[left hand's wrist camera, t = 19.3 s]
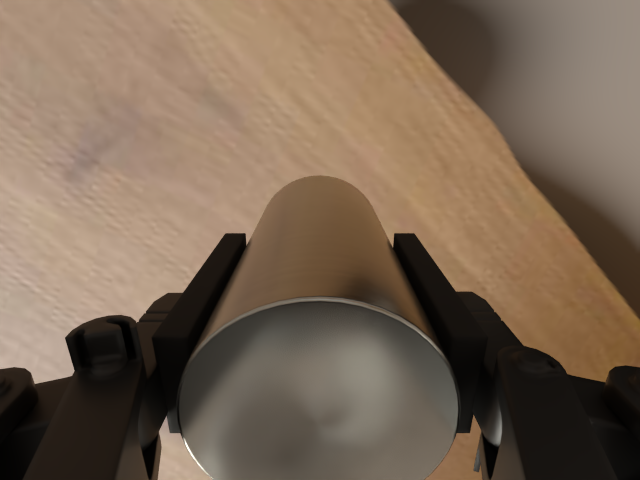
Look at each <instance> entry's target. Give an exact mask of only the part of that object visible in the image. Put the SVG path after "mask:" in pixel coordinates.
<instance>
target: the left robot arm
mask: <svg viewBox="0 0 640 480" xmlns="http://www.w3.org/2000/svg"><path fill="white" fill-rule="evenodd" d="M245 248H246V234H245V233H226V234H225V235H224V236H223V238H222V239H221V241H220V242H219V243H218V245H217V246H216V248H215V249H214V250H213V252H212V253H211V255H210V256H209V257H208V259H207V260H206V262H205V263H204V264H203V266H202V267H201V269H200V270H199V271H198V273H197V274H196V276H195V277H194V278H193V280H192V281H191V283H190V284H189V285H188V287H187V288H186V290H185V291H184V292H183V293H167V294H166V295H164V296H162V297H161V298H159V299H158V300H156V301H154V303H153V304H152V305H151V306H150V307H149V309H148V310H147V311H146V314H144V315H143V316H142V317H141V318H140V319H139V322H137V323H136V321H135V320H134V319H132V318H131V317H128V316H123V315H112V316H105V317H101V318H96V319H93V320H91V321H88V322H86V323H83V324H82V325H80V326H78V327H77V328H75V329H73V330H72V331H71V332H70V333H69V334H68V335H67V336H66V337H65V339H66V343H67V346H68V350H69V353H70V356H71V360H72V363H73V367H74V370H75V371H74V373H73V376H70V377H67V378H62V379H57V380H53V381H48V382H43V383H38V384H34V381H33V378H32V375H31V373H30V372H29V371H28V370H26V369H25V368H16V367H13V368H6V369H0V480H158V471H159V463H160V455H161V440H160V435H159V430H160V428H161V426H162V424H163V422H164V420H165V418H166V416H167V420H168V425H169V430H170V433H180V429H179V425H178V421H177V408H176V401H177V390H178V386H179V382H180V379H181V375H182V373H183V371H184V369H185V366H186V364H187V362H188V360H189V358H190V356H191V354H192V352H193V350H194V348H195V346H196V344H197V342H198V340H199V338H200V336H201V334H202V333H203V331H204V329H205V327H206V325H207V323H208V321H209V319H210V317H211V315H212V313H213V311H214V309H215V307H216V305H217V303H218V301H219V299H220V297H221V295H222V293H223V291H224V289H225V287H226V285H227V283H228V281H229V279H230V278H231V276H232V274H233V272H234V270H235V268H236V266H237V264H238V262H239V260H240V258H241V256H242V254H243V252H244V250H245ZM393 249H394V251H395V253H396V255H397V257H398V259H399V261H400V263H401V265H402V267H403V269H404V271H405V273H406V275H407V277H408V279H409V282H410V284H411V286H412V288H413V290H414V292H415V294H416V296H417V298H418V300H419V302H420V304H421V306H422V308H423V310H424V312H425V314H426V316H427V318H428V320H429V322H430V324H431V326H432V328H433V330H434V332H435V334H436V336H437V338H438V340H439V342H440V344H441V346H442V348H443V350H444V352H445V354H446V356H447V358H448V360H449V362H450V364H451V366H452V369H453V371H454V373H455V376H456V378H457V382H458V387H459V391H460V402H461V411H460V420H459V426H458V429H457V433H470V429H471V424H472V419H473V414H474V416H475V418H476V420H477V422H478V424H479V426H480V428H481V435H480V440H479V445H478V449H477V454H476V459H475V464H474V471H476V472H479V468H480V464H481V471H482V479H483V480H640V368H639V367H632V366H618V367H614V368H613V369H612V370H610V371H609V374H608V377H607V380H606V383H605V382H600V381H595V380H591V379H586V378H581V377H576V376H572V375H568V374H567V373H566V371H565V369H564V368H563V367H562V365H561V364H560V363H559V362H558V361H557V360H555V359H554V358H552V357H551V356H550V355H548V354H546V353H544V352H541V351H539V350H537V349H533V348H530V347H526V346H523V345H522V343H521V342H520V341H519V340H518V339H517V337H516V336H515V335H514V334H513V333H512V331H511V330H510V329H509V328H508V327H507V325H506V324H505V323H504V322H503V321H501V318H500V317H499V316H498V315H497V313H496V312H494V310H493V308H492V307H491V306H490V305H489V304H488V302H487V301H486V300H484V299H483V298H481V297H480V296H478V295H476V294H475V293H473V292H456V291H455V290H454V289H453V287H452V286H451V284H450V283H449V282H448V280H447V279H446V277H445V276H444V275H443V273H442V272H441V270H440V269H439V267H438V266H437V265H436V263H435V262H434V260H433V259H432V258H431V256H430V255H429V253H428V252H427V251H426V249H425V248H424V246H423V245H422V244H421V242H420V241H419V239H418V238H417V237H416V235H415V234H414V233H394V245H393Z"/></svg>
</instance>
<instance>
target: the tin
mask: <svg viewBox="0 0 640 480" xmlns="http://www.w3.org/2000/svg"><path fill="white" fill-rule="evenodd" d="M176 408H177V421H178V425H179V429H180V433H181V436H182V438H183V441H184V443H185V445H186V447H187V449H188V451H189V452H190V454H191V456H192V457H193V459H194V460H195V461H196V463H197V464H198V465H199V466H200V468H201V469H202V470H203V471H204V472H205V473H206V474H207V475H208V476H209V477H210V478H211V479H212V480H425V479H426V478H427V477H428V476H429V475H430V474H431V473H432V472H433V471H434V470H435V469H436V468H437V467H438V465H439V464H440V463H441V462H442V460H443V459H444V457H445V456H446V454H447V453H448V451H449V450H450V447H451V445H452V443H453V441H454V439H455V436H456V433H457V429H458V426H459V420H460V411H461V402H460V391H459V387H458V382H457V378H456V376H455V373H454V371H453V369H452V366H451V364H450V362H449V360H448V358H447V356H446V354H445V352H444V350H443V348H442V346H441V344H440V342H439V340H438V338H437V336H436V334H435V332H434V330H433V328H432V326H431V324H430V322H429V320H428V318H427V316H426V314H425V312H424V310H423V308H422V306H421V304H420V302H419V300H418V298H417V296H416V294H415V292H414V290H413V288H412V286H411V284H410V282H409V279H408V277H407V275H406V273H405V271H404V269H403V267H402V265H401V263H400V261H399V259H398V257H397V255H396V253H395V251H394V249H393V247H392V245H391V243H390V241H389V239H388V237H387V235H386V233H385V231H384V229H383V227H382V225H381V223H380V221H379V219H378V217H377V215H376V213H375V211H374V209H373V207H372V205H371V204H370V202H369V200H368V199H367V198H366V197H365V195H364V194H363V193H362V192H361V191H359V190H358V189H357V188H356V187H354V186H353V185H351V184H350V183H348V182H346V181H344V180H341V179H338V178H334V177H330V176H309V177H304V178H301V179H298V180H295V181H293V182H291V183H289V184H288V185H286V186H284V187H283V188H282V189H281V190H279V191H278V192H277V193H276V194H275V195H274V196H273V198H272V199H271V200H270V202H269V203H268V205H267V207H266V209H265V211H264V213H263V215H262V217H261V219H260V221H259V223H258V224H257V226H256V228H255V230H254V232H253V234H252V236H251V238H250V240H249V242H248V244H247V246H246V248H245V250H244V252H243V254H242V256H241V258H240V260H239V262H238V264H237V266H236V268H235V270H234V272H233V274H232V276H231V278H230V279H229V281H228V283H227V285H226V287H225V289H224V291H223V293H222V295H221V297H220V299H219V301H218V303H217V305H216V307H215V309H214V311H213V313H212V315H211V317H210V319H209V321H208V323H207V325H206V327H205V329H204V331H203V333H202V334H201V336H200V338H199V340H198V342H197V344H196V346H195V348H194V350H193V352H192V354H191V356H190V358H189V360H188V362H187V364H186V366H185V369H184V371H183V373H182V375H181V379H180V382H179V386H178V390H177V401H176Z"/></svg>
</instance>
